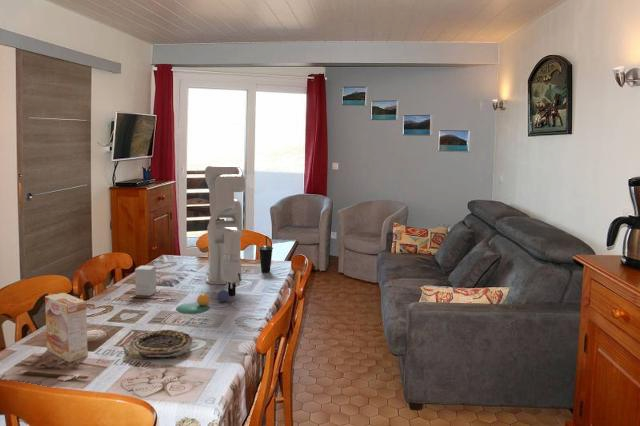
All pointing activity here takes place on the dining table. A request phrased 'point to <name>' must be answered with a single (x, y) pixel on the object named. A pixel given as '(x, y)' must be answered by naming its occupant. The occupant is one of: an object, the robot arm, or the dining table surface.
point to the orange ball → (203, 299)
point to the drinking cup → (265, 257)
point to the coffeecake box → (66, 326)
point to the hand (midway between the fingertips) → (231, 295)
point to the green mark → (192, 308)
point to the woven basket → (158, 345)
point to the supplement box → (145, 280)
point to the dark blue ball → (223, 296)
